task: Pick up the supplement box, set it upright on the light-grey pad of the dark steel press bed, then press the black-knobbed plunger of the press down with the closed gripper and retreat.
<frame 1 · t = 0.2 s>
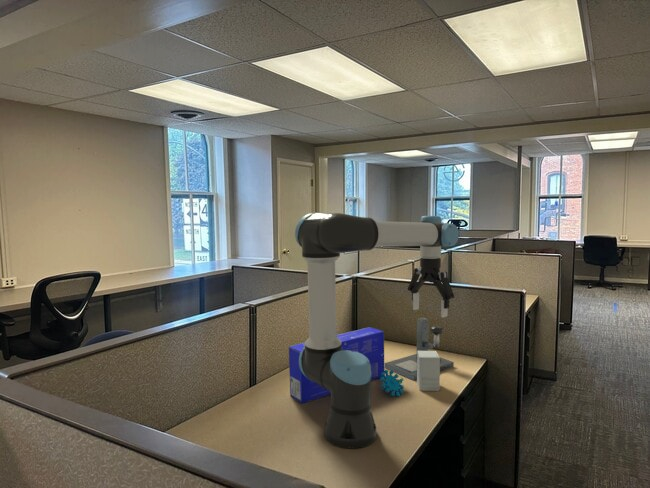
hand: (429, 313, 161), 26 cm above the table, fingers open, 13 cm apart
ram: (436, 336, 179), point 12 cm above the table, slide at 0.0 cm
toner cartridge box: (339, 386, 159), on the table
press: (419, 367, 177), on the table
supplement box: (427, 387, 158), on the table
gear: (392, 393, 153), on the table
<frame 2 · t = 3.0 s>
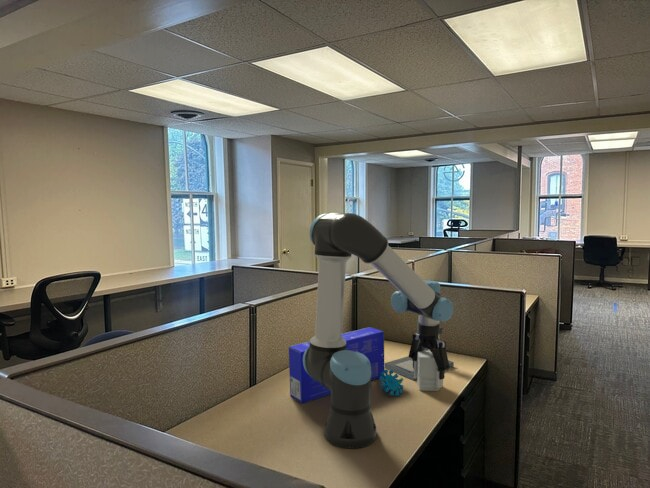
hand: (427, 382, 158), 2 cm above the table, fingers closed on supplement box, 10 cm apart
supplement box: (427, 387, 158), on the table, touching gripper
everything else where it was.
when the fingers open (5 cm above the table, at t = 8.1 s): supplement box drops 1 cm, resting on press.
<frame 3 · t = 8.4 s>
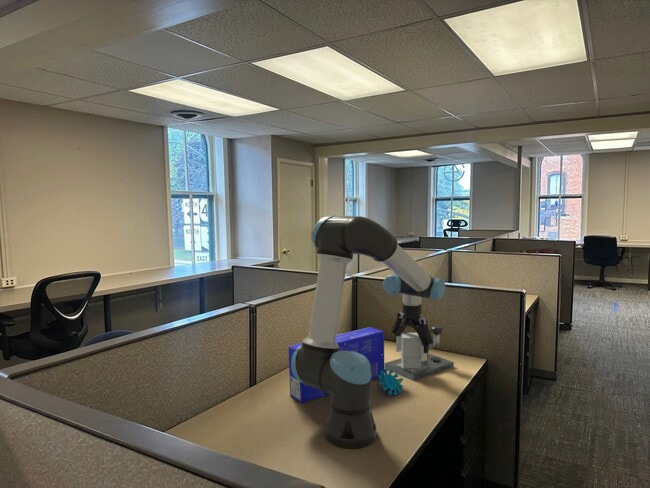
hand: (411, 355, 172), 6 cm above the table, fingers open, 13 cm apart
supplement box: (411, 365, 173), point 2 cm above the table, touching press
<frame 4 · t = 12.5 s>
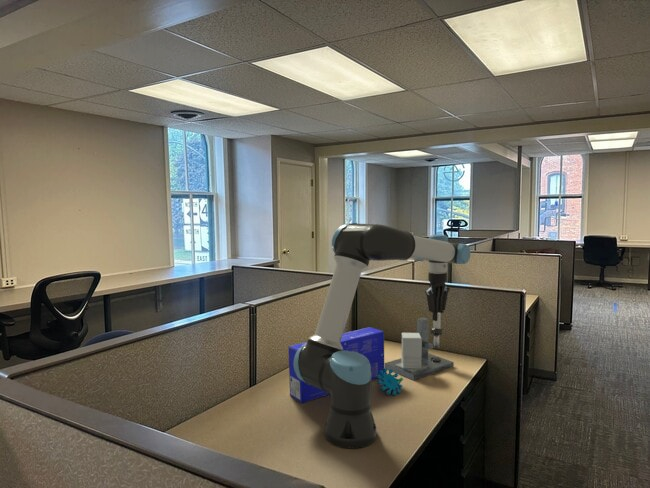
hand: (436, 327, 179), 16 cm above the table, fingers closed
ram: (436, 337, 179), point 12 cm above the table, slide at -0.5 cm, touching gripper
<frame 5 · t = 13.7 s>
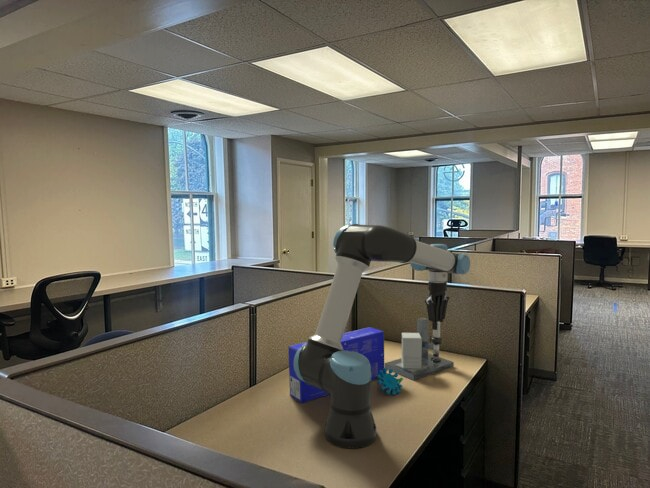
hand: (436, 336, 179), 12 cm above the table, fingers closed
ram: (436, 346, 179), point 8 cm above the table, slide at -4.3 cm, touching gripper
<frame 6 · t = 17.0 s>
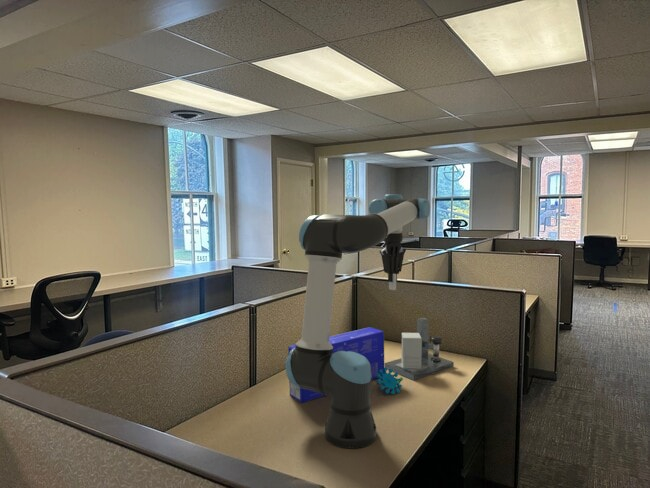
hand: (392, 289, 176), 32 cm above the table, fingers closed
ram: (436, 346, 179), point 8 cm above the table, slide at -4.3 cm
at the end: supplement box inside the target area (0.0 cm from its centre), point 2.2 cm above the table; supplement box tilted 0°; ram slide at -4.3 cm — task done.
